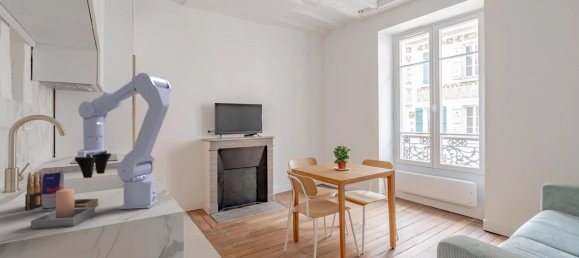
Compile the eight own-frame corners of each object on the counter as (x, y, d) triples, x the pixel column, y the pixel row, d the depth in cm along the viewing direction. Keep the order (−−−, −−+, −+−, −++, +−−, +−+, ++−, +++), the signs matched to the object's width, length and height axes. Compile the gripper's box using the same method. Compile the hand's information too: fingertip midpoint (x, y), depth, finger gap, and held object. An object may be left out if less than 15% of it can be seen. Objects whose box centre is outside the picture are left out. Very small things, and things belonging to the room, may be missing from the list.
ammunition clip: (57, 200, 95) (57, 167, 95) (62, 200, 95) (61, 167, 95) (24, 210, 84) (24, 172, 84) (30, 210, 84) (29, 173, 84)
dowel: (77, 216, 77) (77, 188, 77) (68, 220, 74) (68, 192, 73) (62, 216, 77) (62, 189, 77) (52, 221, 73) (52, 192, 73)
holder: (98, 205, 89) (98, 198, 89) (85, 212, 82) (85, 204, 82) (75, 206, 88) (75, 199, 88) (60, 213, 81) (60, 205, 81)
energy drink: (51, 212, 82) (50, 173, 82) (37, 211, 83) (36, 173, 83) (68, 207, 88) (68, 170, 87) (55, 206, 89) (55, 170, 88)
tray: (95, 213, 81) (94, 207, 81) (73, 226, 71) (73, 218, 71) (58, 215, 79) (58, 208, 79) (31, 228, 70) (30, 220, 70)
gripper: (93, 135, 99) (94, 172, 99) (66, 137, 85) (67, 180, 85) (114, 135, 100) (114, 171, 100) (90, 137, 86) (91, 179, 86)
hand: (94, 175), depth 93 cm, fingers open, 7 cm apart
